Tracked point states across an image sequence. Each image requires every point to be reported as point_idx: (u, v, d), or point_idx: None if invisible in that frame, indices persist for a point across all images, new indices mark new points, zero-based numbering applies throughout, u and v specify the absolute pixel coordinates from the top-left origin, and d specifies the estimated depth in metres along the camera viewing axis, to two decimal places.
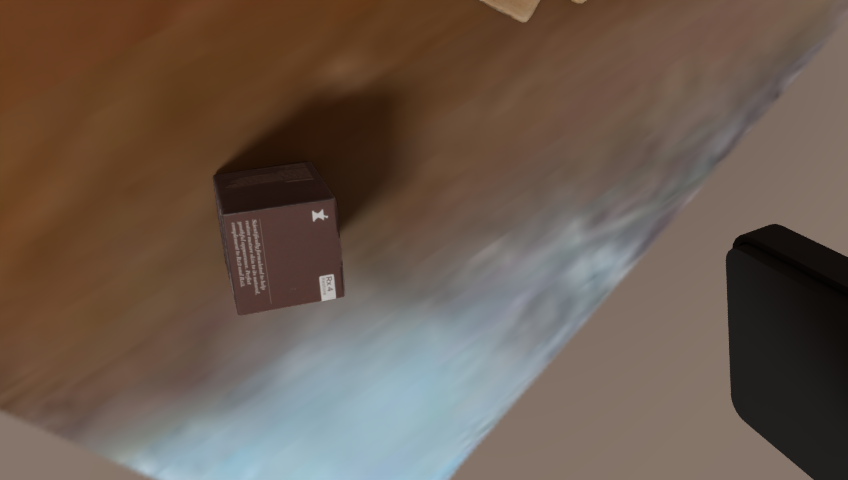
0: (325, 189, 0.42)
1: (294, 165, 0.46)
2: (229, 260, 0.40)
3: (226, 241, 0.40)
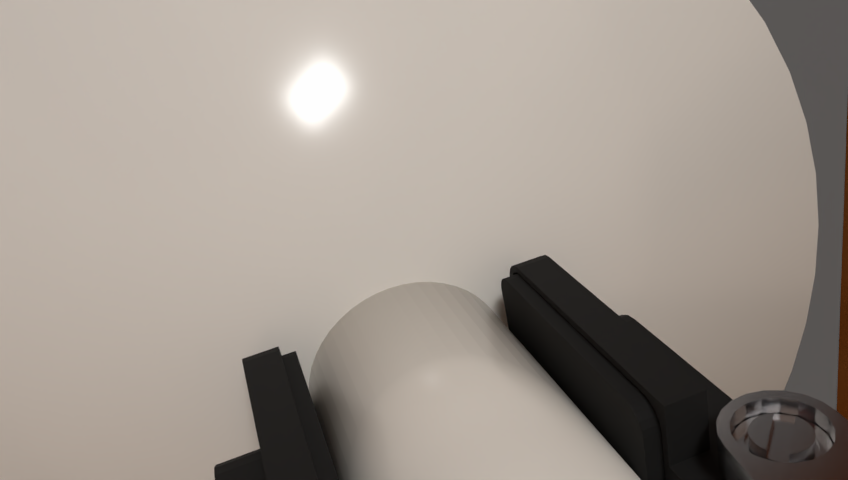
0: None
1: None
2: None
3: None
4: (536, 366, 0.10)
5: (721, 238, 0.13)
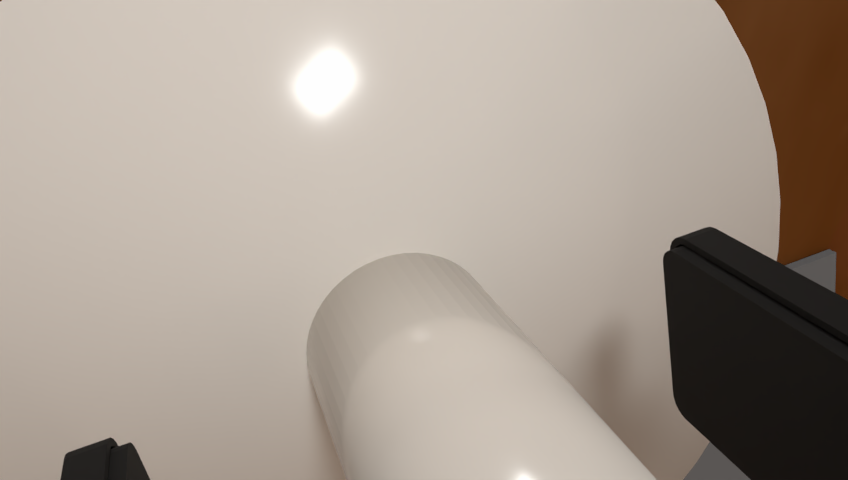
0: None
1: None
2: None
3: None
4: (511, 324, 0.11)
5: (688, 213, 0.14)
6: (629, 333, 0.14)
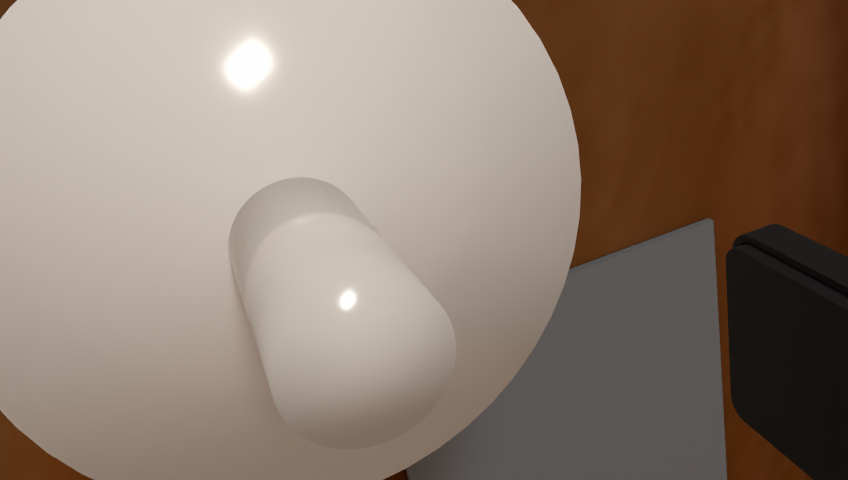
0: None
1: None
2: None
3: None
4: (360, 216, 0.16)
5: (507, 153, 0.19)
6: (470, 243, 0.20)
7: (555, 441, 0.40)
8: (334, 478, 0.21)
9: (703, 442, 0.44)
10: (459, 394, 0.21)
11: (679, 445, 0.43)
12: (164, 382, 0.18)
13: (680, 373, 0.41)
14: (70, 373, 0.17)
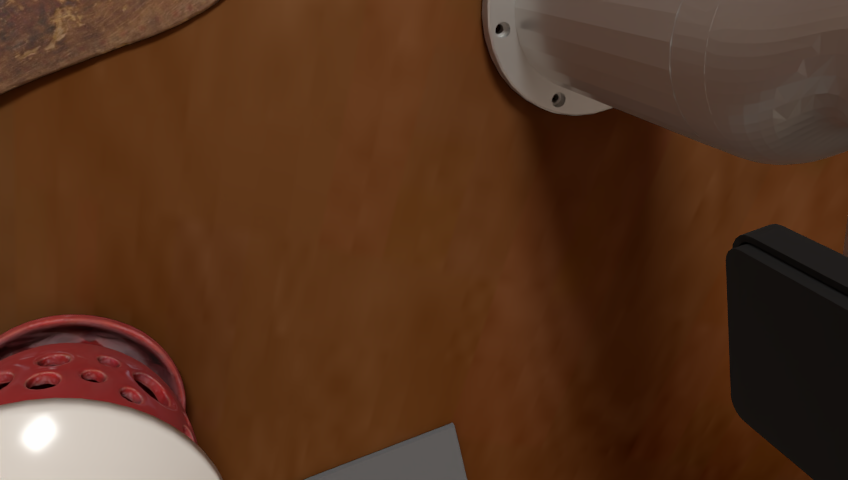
0: None
1: None
2: None
3: None
4: None
5: None
6: None
7: None
8: None
9: None
10: None
11: None
12: None
13: None
14: None
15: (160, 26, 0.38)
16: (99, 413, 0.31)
